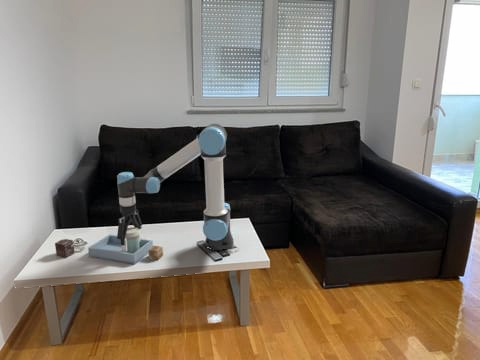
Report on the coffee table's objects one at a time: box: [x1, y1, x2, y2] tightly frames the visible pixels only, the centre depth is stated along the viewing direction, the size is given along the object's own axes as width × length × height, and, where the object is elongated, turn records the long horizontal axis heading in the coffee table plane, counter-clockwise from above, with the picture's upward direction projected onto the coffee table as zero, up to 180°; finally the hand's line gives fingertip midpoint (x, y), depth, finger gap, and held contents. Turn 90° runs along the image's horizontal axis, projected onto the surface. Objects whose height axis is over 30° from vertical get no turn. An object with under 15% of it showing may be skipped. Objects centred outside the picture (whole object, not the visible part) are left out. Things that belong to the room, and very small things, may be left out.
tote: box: [87, 234, 154, 265], centre depth 192 cm, size 26×17×5 cm, turn 73°
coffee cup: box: [125, 226, 141, 254], centre depth 189 cm, size 8×8×12 cm
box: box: [54, 238, 75, 259], centre depth 190 cm, size 6×6×7 cm
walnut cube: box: [148, 245, 164, 261], centre depth 187 cm, size 5×5×5 cm
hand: (131, 245), depth 189 cm, fingers open, 11 cm apart
